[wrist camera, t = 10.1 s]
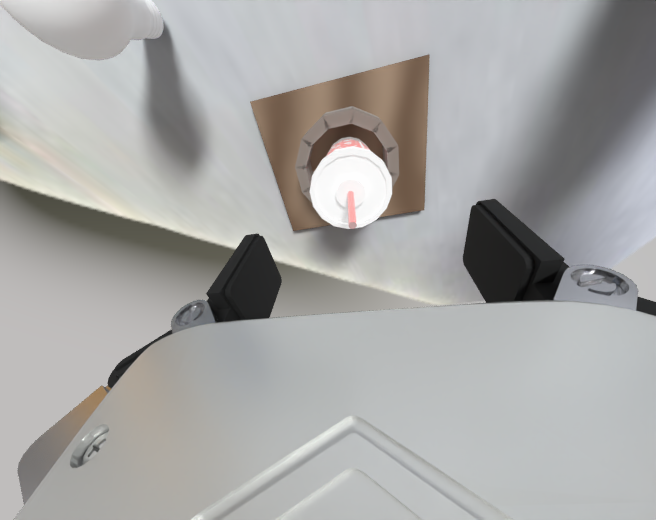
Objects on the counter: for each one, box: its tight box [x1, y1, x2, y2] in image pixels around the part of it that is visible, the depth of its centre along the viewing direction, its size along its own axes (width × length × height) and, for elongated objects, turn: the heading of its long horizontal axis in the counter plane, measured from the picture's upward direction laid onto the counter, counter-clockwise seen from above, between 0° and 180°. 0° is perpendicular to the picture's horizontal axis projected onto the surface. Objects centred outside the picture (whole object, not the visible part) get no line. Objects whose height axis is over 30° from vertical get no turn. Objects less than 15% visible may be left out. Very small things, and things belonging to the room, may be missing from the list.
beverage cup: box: [310, 137, 392, 229], centre depth 19 cm, size 6×6×14 cm
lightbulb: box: [0, 0, 164, 60], centre depth 15 cm, size 6×6×11 cm
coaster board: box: [250, 55, 429, 231], centre depth 24 cm, size 16×14×4 cm
